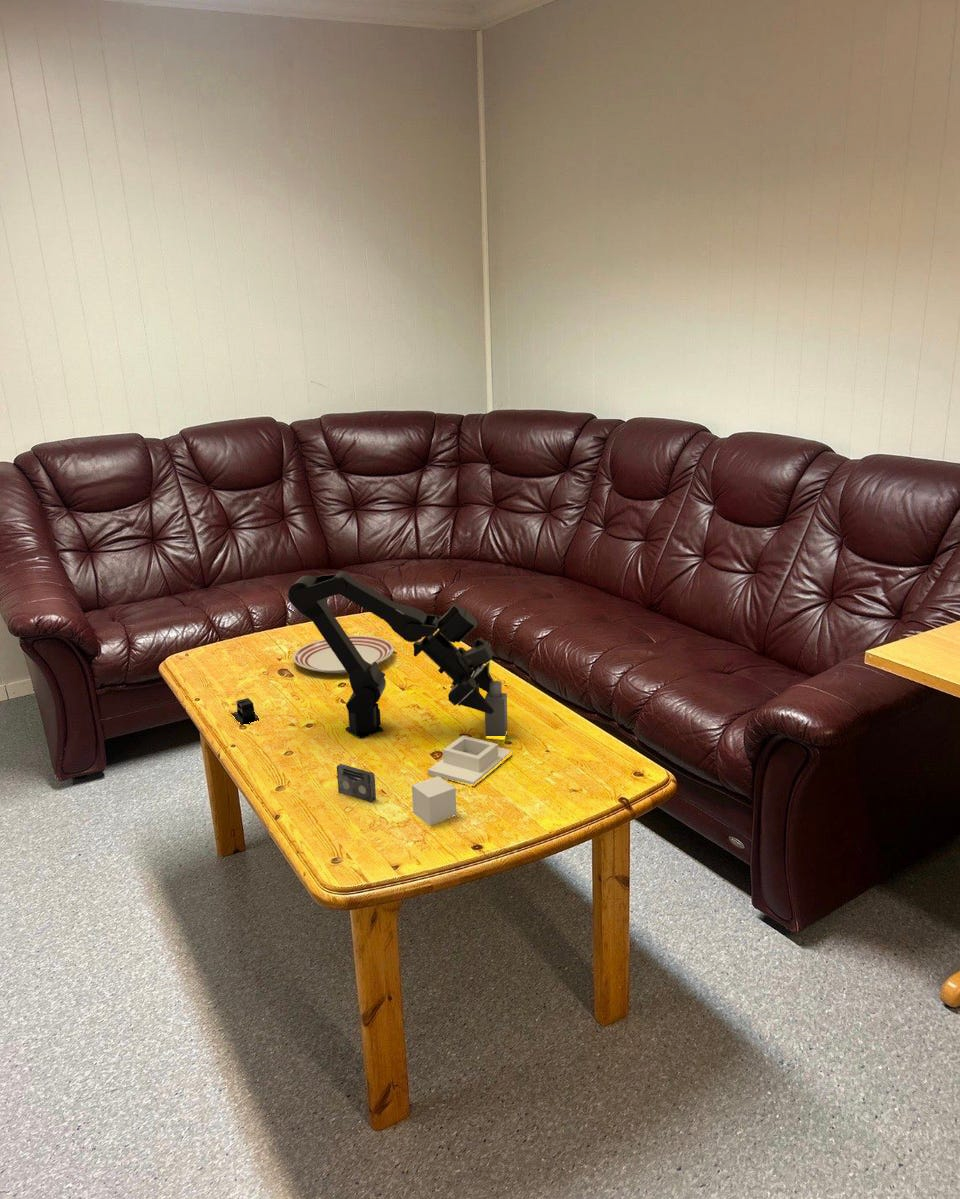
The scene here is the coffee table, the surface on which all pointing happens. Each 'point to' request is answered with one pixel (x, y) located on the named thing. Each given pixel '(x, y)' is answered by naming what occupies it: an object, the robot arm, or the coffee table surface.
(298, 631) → the coffee table surface
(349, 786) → the mini dv tape
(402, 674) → the coffee table surface
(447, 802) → the gray cube
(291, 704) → the coffee table surface
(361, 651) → the dinner plate
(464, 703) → the robot arm
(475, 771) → the socket board
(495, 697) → the plug
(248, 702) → the black boxy piece
